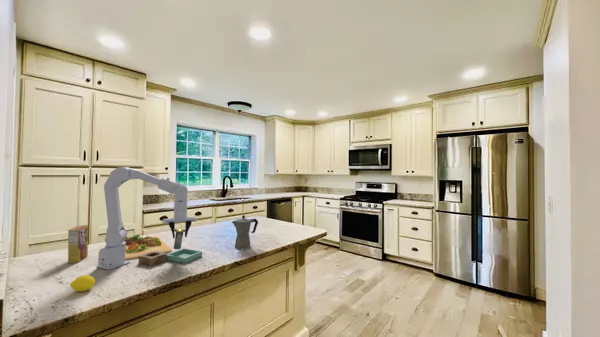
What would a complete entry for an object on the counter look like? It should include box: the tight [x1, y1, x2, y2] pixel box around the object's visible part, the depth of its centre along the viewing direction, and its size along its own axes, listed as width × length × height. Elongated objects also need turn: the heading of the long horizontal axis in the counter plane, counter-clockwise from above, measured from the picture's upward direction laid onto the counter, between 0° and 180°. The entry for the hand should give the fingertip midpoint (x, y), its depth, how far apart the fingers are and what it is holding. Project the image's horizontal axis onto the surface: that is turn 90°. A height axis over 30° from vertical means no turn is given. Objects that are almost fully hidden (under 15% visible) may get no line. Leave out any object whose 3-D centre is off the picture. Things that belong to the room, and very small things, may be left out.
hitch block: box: [138, 251, 168, 267], centre depth 120 cm, size 8×8×4 cm
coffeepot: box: [231, 214, 259, 250], centre depth 148 cm, size 15×9×18 cm, turn 118°
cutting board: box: [124, 234, 172, 261], centre depth 140 cm, size 35×23×8 cm
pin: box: [173, 228, 185, 250], centre depth 125 cm, size 5×5×9 cm
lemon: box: [69, 274, 96, 293], centre depth 91 cm, size 7×5×5 cm
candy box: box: [67, 224, 89, 264], centre depth 120 cm, size 9×4×15 cm, turn 17°
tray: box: [166, 247, 203, 265], centre depth 127 cm, size 12×12×2 cm
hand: (179, 237), depth 126 cm, fingers closed on pin, 5 cm apart
